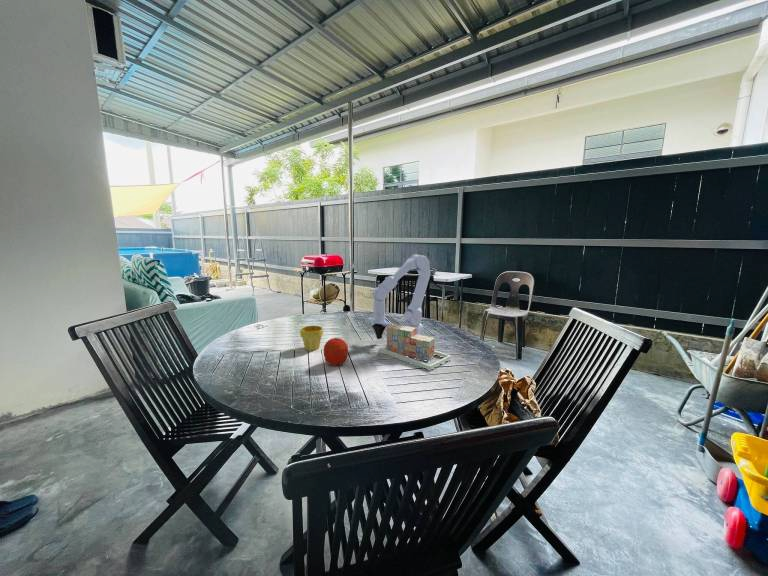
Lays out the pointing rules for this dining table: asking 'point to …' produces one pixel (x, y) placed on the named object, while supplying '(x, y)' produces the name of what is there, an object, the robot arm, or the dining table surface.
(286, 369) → the dining table surface
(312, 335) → the plant pot
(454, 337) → the dining table surface
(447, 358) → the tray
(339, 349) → the apple
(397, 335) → the stack of blocks
